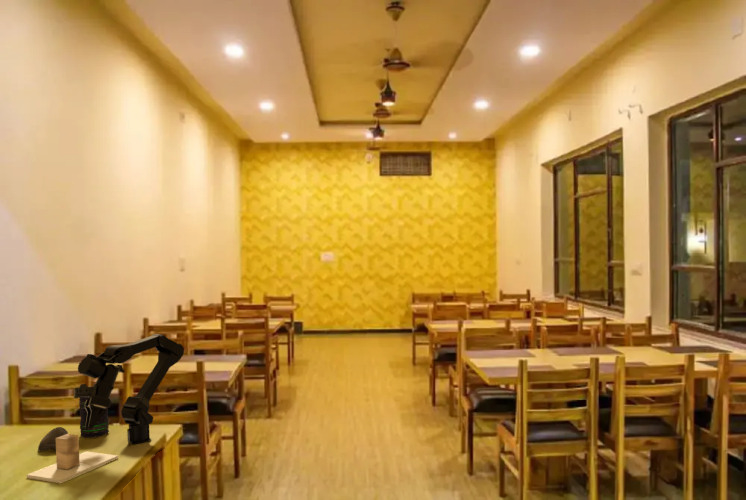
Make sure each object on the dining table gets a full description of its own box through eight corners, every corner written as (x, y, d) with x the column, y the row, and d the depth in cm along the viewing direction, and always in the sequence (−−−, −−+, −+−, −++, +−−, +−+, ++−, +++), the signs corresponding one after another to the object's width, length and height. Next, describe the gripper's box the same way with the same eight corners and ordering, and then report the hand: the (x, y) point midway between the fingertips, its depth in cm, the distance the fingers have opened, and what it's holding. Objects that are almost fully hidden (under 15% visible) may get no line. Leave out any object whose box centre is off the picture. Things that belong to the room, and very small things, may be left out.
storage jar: (114, 432, 231) (112, 392, 230) (88, 439, 223) (87, 398, 223) (100, 428, 237) (99, 389, 237) (75, 435, 229) (73, 394, 229)
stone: (45, 465, 208) (67, 443, 209) (28, 447, 209) (51, 425, 210) (60, 459, 218) (81, 438, 219) (43, 442, 218) (65, 421, 220)
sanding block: (69, 463, 194) (67, 433, 194) (79, 465, 193) (78, 435, 192) (56, 468, 190) (55, 438, 190) (67, 470, 188) (66, 439, 188)
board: (86, 454, 206) (86, 451, 206) (118, 458, 201) (118, 455, 201) (26, 477, 186) (26, 474, 186) (60, 483, 180) (60, 479, 180)
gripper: (78, 377, 212) (60, 423, 206) (83, 373, 197) (64, 422, 191) (111, 386, 217) (94, 431, 211) (118, 382, 201) (101, 431, 195)
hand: (88, 429), depth 202 cm, fingers open, 9 cm apart
